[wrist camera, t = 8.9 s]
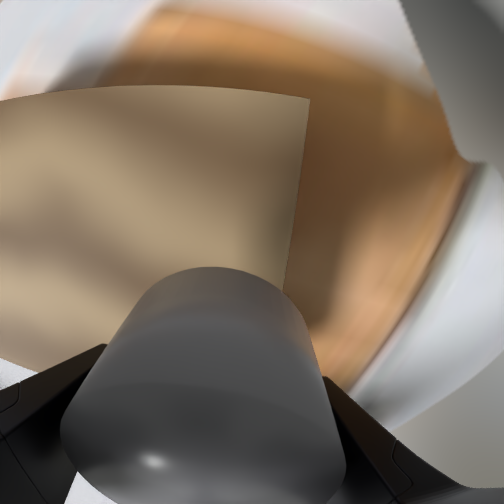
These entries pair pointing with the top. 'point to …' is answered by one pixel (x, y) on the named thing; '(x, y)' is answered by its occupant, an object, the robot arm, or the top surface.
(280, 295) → the grey domed cylinder
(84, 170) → the lid
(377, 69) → the top surface
